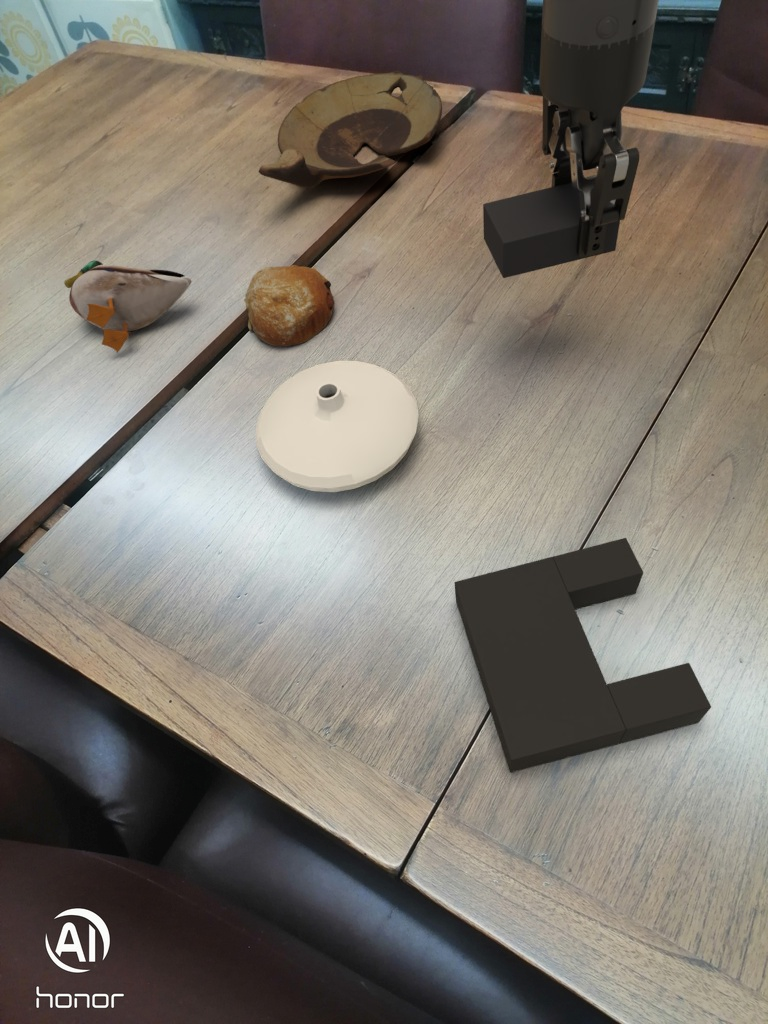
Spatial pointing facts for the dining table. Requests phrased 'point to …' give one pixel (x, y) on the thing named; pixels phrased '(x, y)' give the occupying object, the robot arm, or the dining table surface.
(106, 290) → the decorative duck model
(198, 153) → the dining table surface
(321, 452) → the pot lid
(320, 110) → the oil lamp
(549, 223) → the pad
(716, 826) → the dining table surface
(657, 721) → the socket pad
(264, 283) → the bread roll
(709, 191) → the dining table surface
